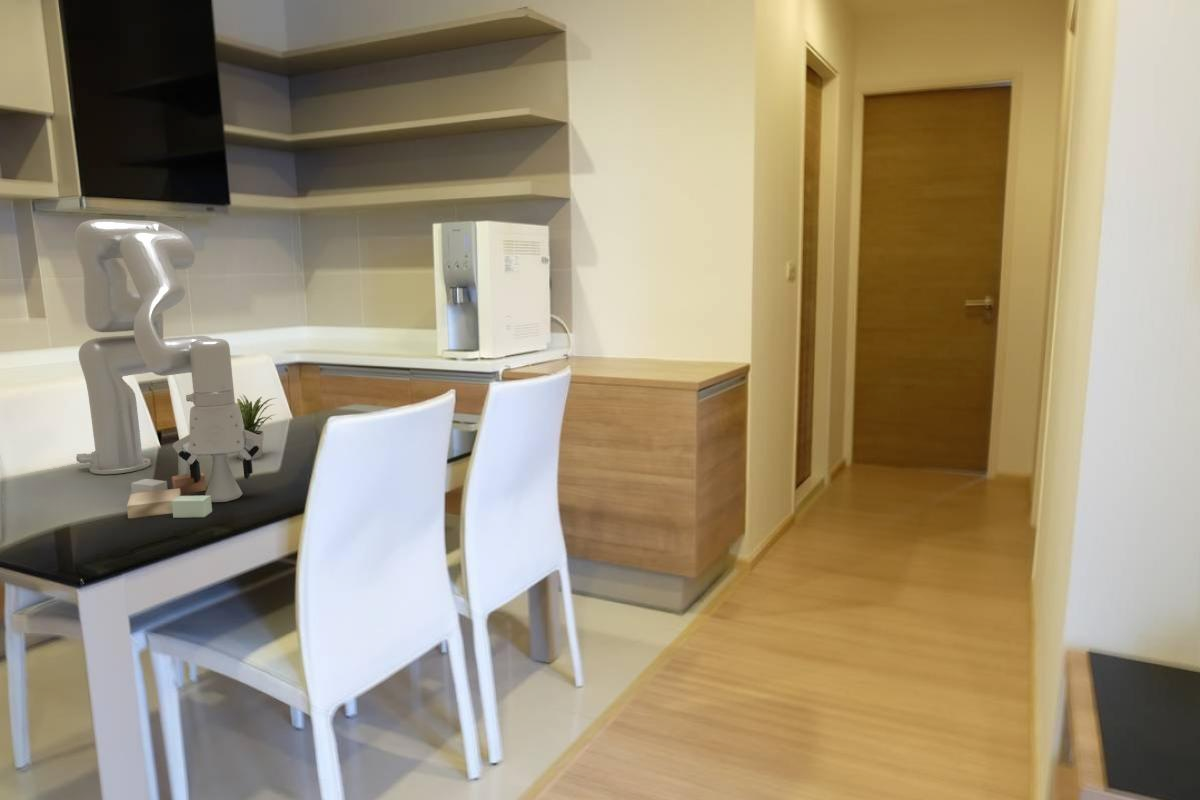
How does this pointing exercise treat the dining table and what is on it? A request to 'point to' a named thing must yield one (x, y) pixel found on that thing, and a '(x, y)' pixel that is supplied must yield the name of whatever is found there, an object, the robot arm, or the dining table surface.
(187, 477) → the cherry brick
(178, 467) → the dining table surface
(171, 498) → the oak block
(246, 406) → the house plant
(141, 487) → the grey brick
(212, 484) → the flask
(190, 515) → the sage brick
